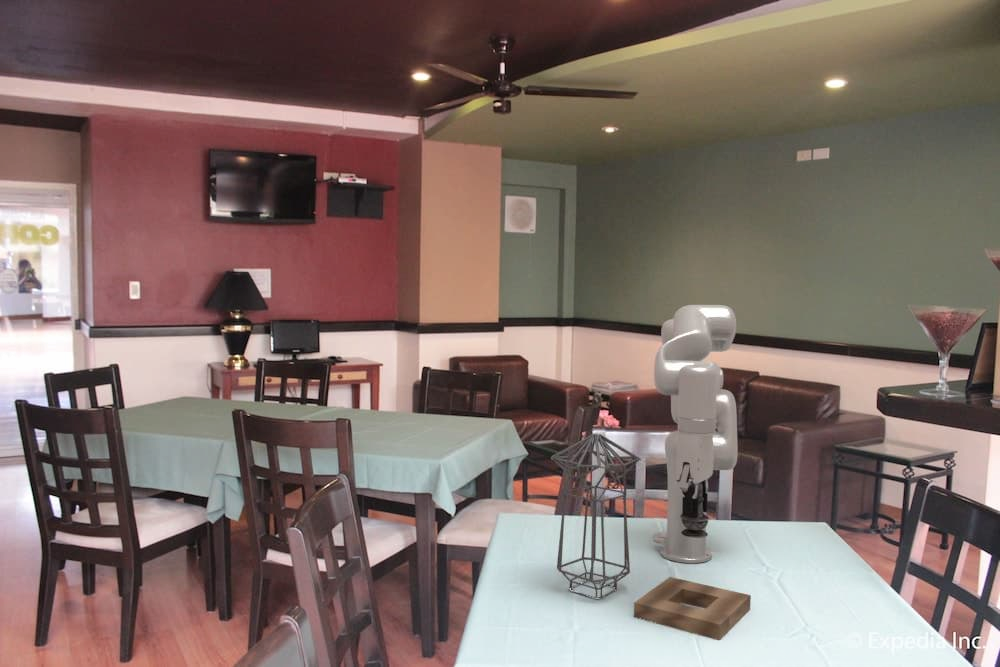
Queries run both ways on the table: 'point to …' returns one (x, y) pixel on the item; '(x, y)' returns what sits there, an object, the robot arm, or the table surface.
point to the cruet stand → (710, 622)
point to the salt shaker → (696, 519)
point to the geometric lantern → (558, 459)
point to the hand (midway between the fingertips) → (694, 513)
